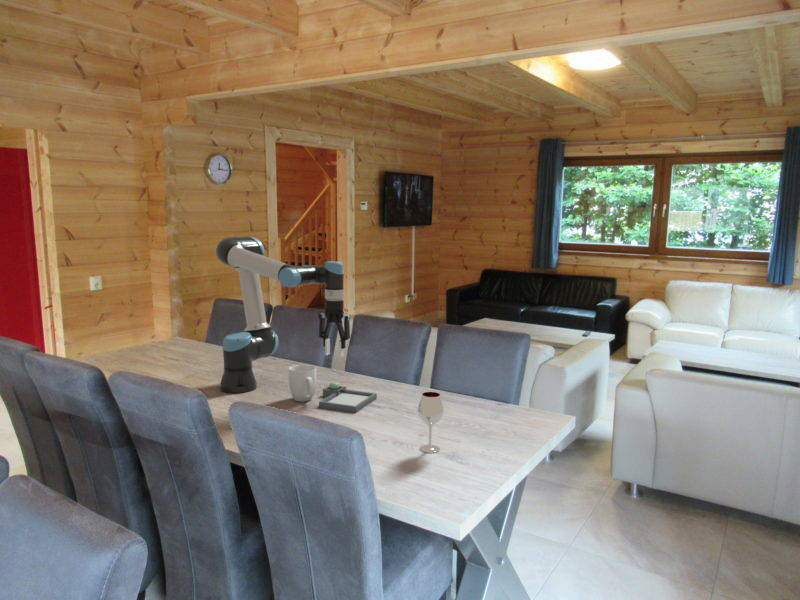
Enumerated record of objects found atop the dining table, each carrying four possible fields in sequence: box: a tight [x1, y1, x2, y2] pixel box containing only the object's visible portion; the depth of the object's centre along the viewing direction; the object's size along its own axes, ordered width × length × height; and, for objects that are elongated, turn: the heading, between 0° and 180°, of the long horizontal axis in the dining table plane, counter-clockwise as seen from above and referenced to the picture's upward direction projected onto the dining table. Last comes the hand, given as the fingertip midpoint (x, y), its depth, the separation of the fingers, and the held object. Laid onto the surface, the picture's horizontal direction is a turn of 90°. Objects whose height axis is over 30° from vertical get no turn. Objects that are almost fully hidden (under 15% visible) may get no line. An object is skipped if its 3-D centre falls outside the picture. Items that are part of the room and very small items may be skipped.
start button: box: [329, 381, 340, 390], centre depth 241 cm, size 4×4×2 cm
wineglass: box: [417, 391, 445, 454], centre depth 185 cm, size 8×8×18 cm
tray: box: [318, 388, 378, 413], centre depth 232 cm, size 16×19×2 cm
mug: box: [288, 364, 318, 403], centre depth 233 cm, size 15×11×13 cm
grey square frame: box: [322, 385, 347, 398], centre depth 242 cm, size 7×7×3 cm
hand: (334, 355), depth 240 cm, fingers open, 6 cm apart
